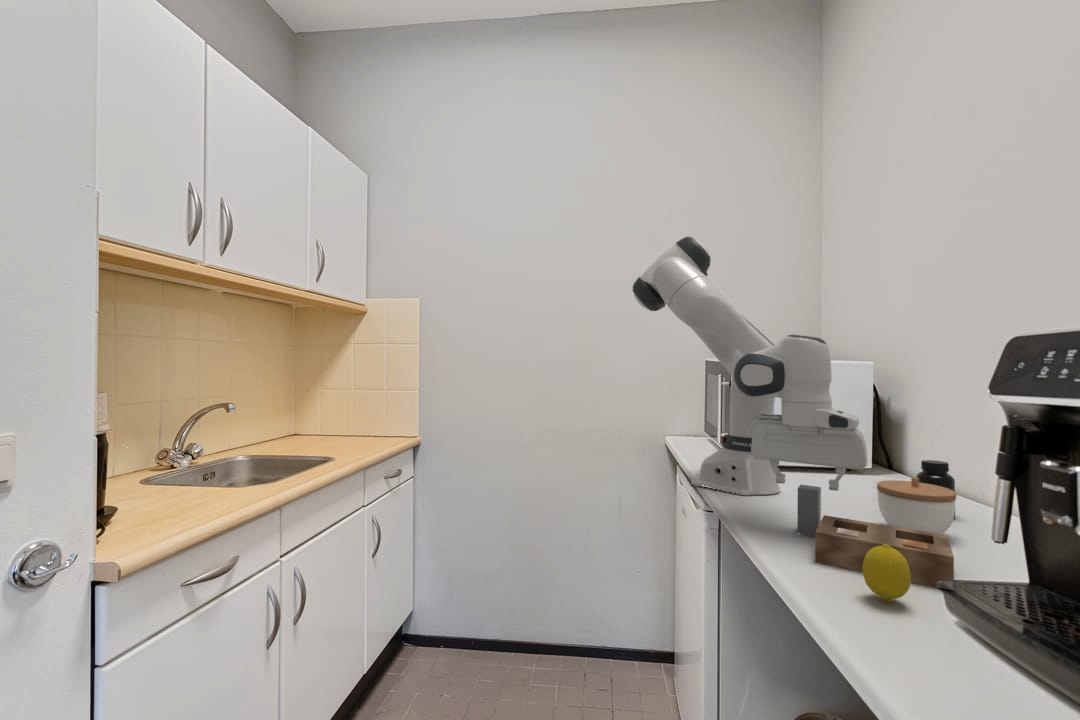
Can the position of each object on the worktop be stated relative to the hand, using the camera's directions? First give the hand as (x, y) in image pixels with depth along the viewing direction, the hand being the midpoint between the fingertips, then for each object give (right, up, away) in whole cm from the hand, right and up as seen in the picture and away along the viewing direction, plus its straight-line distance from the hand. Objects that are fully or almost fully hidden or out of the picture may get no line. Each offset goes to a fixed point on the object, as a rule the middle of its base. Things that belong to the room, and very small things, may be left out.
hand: (806, 486), depth 99 cm
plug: (+1, -9, 0) cm, 9 cm away
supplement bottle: (+36, -10, +13) cm, 39 cm away
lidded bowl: (+22, -10, +1) cm, 24 cm away
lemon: (-4, -9, -29) cm, 30 cm away
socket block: (+4, -9, -15) cm, 18 cm away
